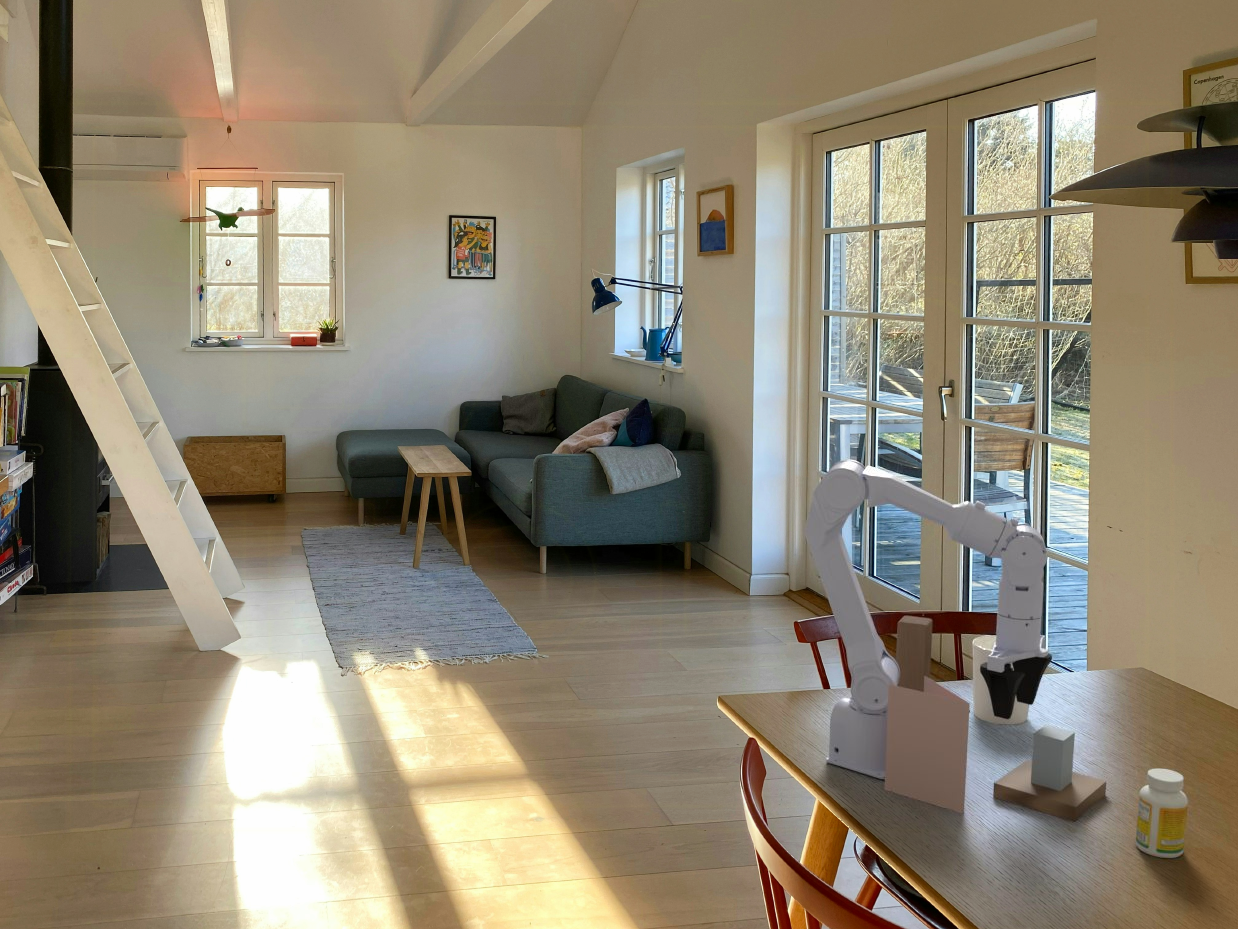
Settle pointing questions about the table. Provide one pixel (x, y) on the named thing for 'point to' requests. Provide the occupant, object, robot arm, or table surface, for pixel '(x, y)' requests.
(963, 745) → the greeting card
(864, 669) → the robot arm
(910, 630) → the wooden block
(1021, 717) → the candle holder
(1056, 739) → the slate block
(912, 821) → the table surface
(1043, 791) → the walnut base
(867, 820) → the table surface
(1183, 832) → the supplement bottle
